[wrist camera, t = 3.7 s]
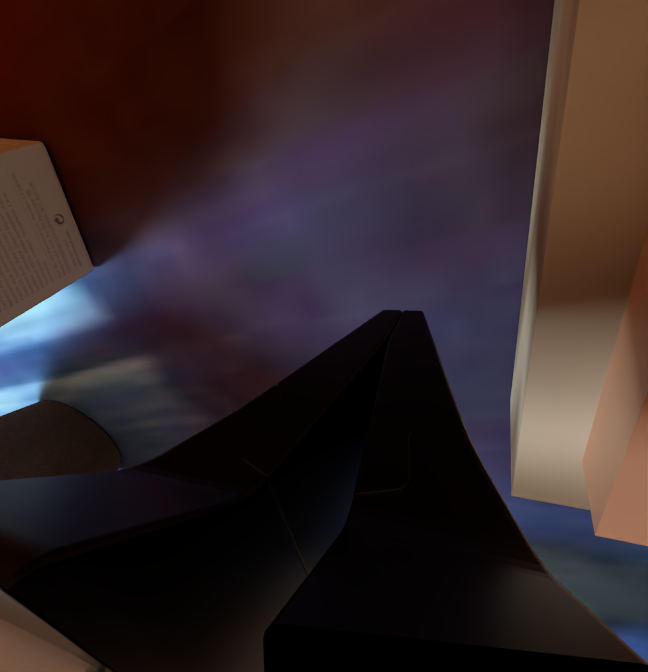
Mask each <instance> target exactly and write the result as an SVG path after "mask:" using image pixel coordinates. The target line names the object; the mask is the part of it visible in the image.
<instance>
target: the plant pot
mask: <svg viewBox="0 0 648 672" xmlns="http://www.w3.org/2000/svg"><path fill="white" fill-rule="evenodd" d="M120 462H121V459H120V454H119V452H118V450H117V448H116V446H115V444H114V443H113V442H112V440H111V439H110V438H109V437H108V435H107V434H106V433H105V432H104V431H103V430H102V429H101V428H99V427H98V426H97V425H96V424H95V423H94V422H92V421H91V420H90V419H89V418H87V417H86V416H84V415H83V414H81V413H80V412H78V411H76V410H75V409H73V408H71V407H69V406H67V405H65V404H62V403H59V402H56V401H49V400H45V401H41V402H38V403H35V404H32V405H29V406H26V407H24V408H21V409H19V410H16V411H13V412H11V413H8V414H6V415H3V416H1V417H0V481H2V480H14V479H26V478H38V477H50V476H62V475H74V474H86V473H98V472H110V471H118V468H119V466H120Z"/></svg>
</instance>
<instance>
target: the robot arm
mask: <svg viewBox="0 0 648 672" xmlns="http://www.w3.org/2000/svg"><path fill="white" fill-rule="evenodd" d="M0 672H648V663H646V662H645V661H644V660H643V659H642V658H641V657H640V656H639V655H638V654H637V653H636V652H635V651H633V650H632V649H631V648H630V647H629V646H628V645H627V644H626V643H625V642H624V641H623V640H621V639H620V638H619V637H618V636H617V635H616V634H615V633H614V632H613V631H612V630H611V629H609V628H608V627H607V626H606V625H605V624H604V623H603V622H602V621H601V620H600V619H599V618H597V617H596V616H595V615H594V614H593V613H592V612H591V611H590V610H589V609H588V608H587V607H585V606H584V605H583V604H582V603H581V602H580V601H579V600H578V599H577V598H576V597H575V596H573V595H572V594H571V593H570V592H569V591H568V590H567V589H566V588H565V587H564V586H563V585H561V584H560V583H559V582H558V581H557V580H556V579H555V578H554V577H553V576H552V574H551V573H550V572H549V571H548V570H547V569H546V568H545V566H544V565H543V564H542V562H541V561H540V560H539V558H538V557H537V555H536V554H535V552H534V551H533V549H532V548H531V546H530V545H529V543H528V541H527V540H526V538H525V537H524V535H523V533H522V532H521V530H520V528H519V526H518V525H517V523H516V521H515V519H514V518H513V516H512V514H511V512H510V511H509V509H508V507H507V505H506V504H505V502H504V500H503V498H502V497H501V495H500V493H499V491H498V490H497V488H496V486H495V484H494V483H493V481H492V479H491V477H490V476H489V474H488V472H487V470H486V469H485V467H484V465H483V463H482V461H481V459H480V457H479V455H478V453H477V451H476V450H475V448H474V446H473V444H472V442H471V439H470V437H469V435H468V432H467V430H466V427H465V425H464V423H463V420H462V417H461V415H460V412H459V409H458V407H457V405H456V402H455V399H454V396H453V393H452V391H451V388H450V385H449V382H448V379H447V377H446V374H445V371H444V368H443V366H442V363H441V360H440V357H439V355H438V352H437V349H436V346H435V344H434V341H433V338H432V335H431V333H430V330H429V327H428V324H427V321H426V319H425V316H424V313H423V312H422V311H410V310H406V311H403V313H402V311H400V310H383V311H381V312H380V313H378V314H377V315H376V316H374V317H373V318H371V319H370V320H368V321H367V322H365V323H364V324H363V325H361V326H360V327H358V328H357V329H355V330H354V331H352V332H351V333H350V334H348V335H347V336H345V337H344V338H342V339H341V340H339V341H338V342H337V343H335V344H334V345H332V346H331V347H329V348H328V349H326V350H325V351H324V352H322V353H321V354H319V355H318V356H316V357H315V358H313V359H312V360H311V361H309V362H308V363H306V364H305V365H303V366H302V367H300V368H299V369H297V370H296V371H295V372H293V373H292V374H290V375H289V376H287V377H286V378H284V379H283V380H282V381H280V382H279V383H277V386H273V387H271V388H270V389H268V390H267V391H265V392H264V393H263V394H261V395H260V396H258V397H257V398H255V399H254V400H252V401H251V402H249V403H248V404H246V405H244V406H243V407H241V408H240V409H238V410H237V411H235V412H233V413H232V414H230V415H228V416H227V417H225V418H223V419H222V420H220V421H218V422H217V423H215V424H213V425H211V426H210V427H208V428H206V429H204V430H203V431H201V432H199V433H198V434H196V435H194V436H192V437H191V438H189V439H187V440H185V441H184V442H182V443H180V444H179V445H177V446H175V447H173V448H172V449H170V450H168V451H166V452H165V453H163V454H161V455H159V456H157V457H156V458H154V459H152V460H150V461H147V462H145V463H143V464H140V465H137V466H134V467H131V468H127V469H122V470H118V471H110V472H98V473H86V474H74V475H62V476H50V477H38V478H26V479H14V480H2V481H0Z"/></svg>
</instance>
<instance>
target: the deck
mask: <svg viewBox="0 0 648 672" xmlns="http://www.w3.org/2000/svg"><path fill="white" fill-rule="evenodd" d="M647 228H648V0H555V2H554V11H553V20H552V29H551V38H550V47H549V56H548V65H547V74H546V84H545V93H544V102H543V111H542V120H541V129H540V138H539V147H538V156H537V165H536V174H535V183H534V192H533V201H532V210H531V219H530V228H529V237H528V246H527V255H526V264H525V273H524V283H523V292H522V301H521V310H520V319H519V328H518V337H517V346H516V355H515V364H514V373H513V382H512V391H511V400H510V413H511V496H516V497H522V498H527V499H532V500H538V501H543V502H549V503H554V504H560V505H565V506H570V507H576V508H581V509H587V510H590V504H589V498H588V492H587V487H586V481H585V475H584V469H583V463H582V460H583V457H584V453H585V449H586V446H587V442H588V439H589V435H590V432H591V428H592V425H593V421H594V417H595V414H596V410H597V407H598V403H599V400H600V396H601V392H602V389H603V385H604V382H605V378H606V375H607V371H608V367H609V364H610V360H611V357H612V353H613V350H614V346H615V342H616V339H617V335H618V332H619V328H620V325H621V321H622V317H623V314H624V310H625V307H626V303H627V300H628V296H629V293H630V289H631V285H632V282H633V278H634V275H635V271H636V268H637V264H638V260H639V257H640V253H641V250H642V246H643V243H644V239H645V235H646V232H647Z"/></svg>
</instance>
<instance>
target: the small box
mask: <svg viewBox="0 0 648 672" xmlns="http://www.w3.org/2000/svg"><path fill="white" fill-rule="evenodd" d="M92 270H93V265H92V262H91V260H90V257H89V255H88V252H87V250H86V247H85V245H84V242H83V240H82V237H81V235H80V232H79V230H78V227H77V225H76V222H75V220H74V218H73V215H72V212H71V210H70V207H69V205H68V202H67V200H66V197H65V195H64V192H63V190H62V187H61V184H60V182H59V180H58V177H57V175H56V172H55V170H54V167H53V165H52V162H51V160H50V157H49V155H48V152H47V150H46V147H45V146H44V144H43V143H42V142H39V141H29V140H14V139H4V138H0V327H1V326H3V325H5V324H6V323H8V322H9V321H11V320H13V319H14V318H16V317H18V316H19V315H21V314H22V313H24V312H26V311H27V310H29V309H31V308H32V307H34V306H36V305H37V304H39V303H40V302H42V301H44V300H46V299H47V298H49V297H51V296H52V295H54V294H55V293H57V292H59V291H60V290H62V289H63V288H65V287H67V286H68V285H70V284H72V283H73V282H75V281H76V280H78V279H80V278H81V277H83V276H85V275H86V274H88V273H89V272H91V271H92Z"/></svg>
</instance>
